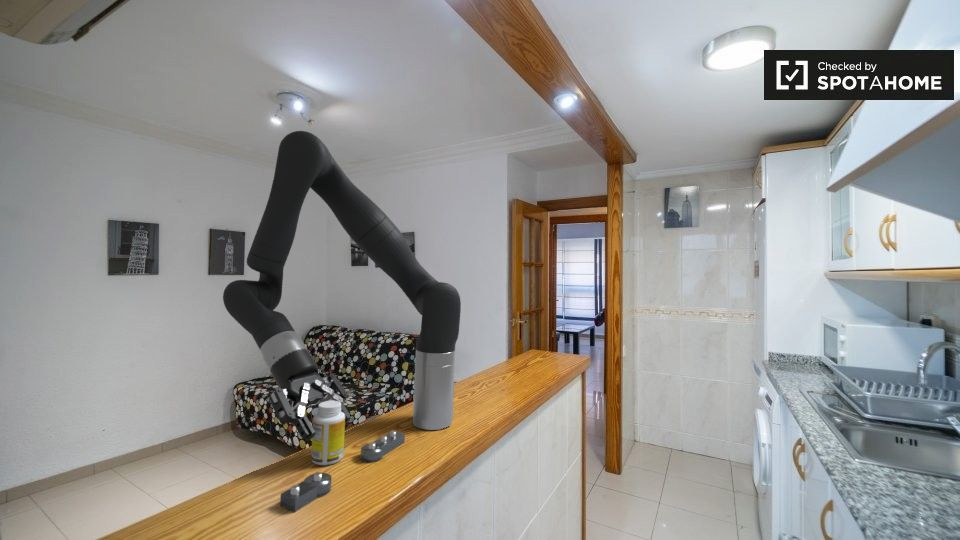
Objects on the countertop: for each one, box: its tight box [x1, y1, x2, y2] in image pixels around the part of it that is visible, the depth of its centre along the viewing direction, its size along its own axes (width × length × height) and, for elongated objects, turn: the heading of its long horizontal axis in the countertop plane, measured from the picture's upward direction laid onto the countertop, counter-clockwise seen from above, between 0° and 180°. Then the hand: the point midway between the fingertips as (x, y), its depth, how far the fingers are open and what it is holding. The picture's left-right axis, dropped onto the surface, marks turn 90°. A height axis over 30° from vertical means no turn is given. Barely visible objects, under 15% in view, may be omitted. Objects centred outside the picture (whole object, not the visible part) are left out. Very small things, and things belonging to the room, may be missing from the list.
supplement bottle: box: [311, 400, 346, 466], centre depth 72 cm, size 6×6×10 cm
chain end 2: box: [360, 430, 406, 463], centre depth 76 cm, size 10×4×3 cm, turn 156°
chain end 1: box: [279, 471, 332, 513], centre depth 60 cm, size 8×4×3 cm, turn 156°
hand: (329, 429), depth 72 cm, fingers open, 8 cm apart
